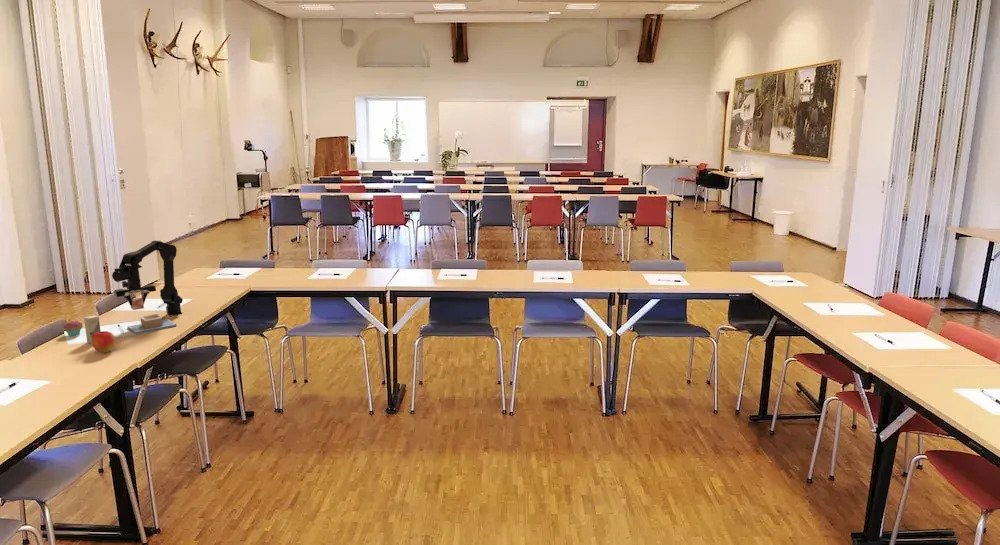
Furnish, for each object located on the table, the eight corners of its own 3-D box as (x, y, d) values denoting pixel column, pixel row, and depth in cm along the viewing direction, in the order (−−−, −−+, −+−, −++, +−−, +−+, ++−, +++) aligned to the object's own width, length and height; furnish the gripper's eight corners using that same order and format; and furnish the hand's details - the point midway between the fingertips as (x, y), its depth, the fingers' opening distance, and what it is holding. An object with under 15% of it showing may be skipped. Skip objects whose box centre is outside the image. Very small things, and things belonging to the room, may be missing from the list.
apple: (105, 355, 307) (102, 335, 304) (88, 354, 308) (85, 334, 306) (121, 349, 316) (118, 329, 314) (104, 347, 318) (101, 327, 315)
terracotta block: (141, 306, 353) (140, 297, 352) (143, 308, 349) (142, 299, 348) (131, 308, 349) (129, 299, 348) (133, 310, 346) (132, 300, 345)
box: (91, 344, 323) (87, 318, 320) (86, 342, 325) (83, 317, 323) (102, 341, 327) (99, 316, 325) (97, 339, 330) (94, 314, 327)
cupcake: (74, 338, 332) (70, 315, 330) (60, 337, 334) (56, 314, 331) (87, 332, 341) (84, 310, 338) (73, 331, 342) (70, 309, 340)
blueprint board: (168, 320, 361) (166, 310, 360) (176, 326, 351) (175, 315, 350) (127, 328, 348) (126, 317, 346) (135, 334, 338) (133, 323, 336)
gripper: (148, 272, 357) (152, 300, 361) (109, 277, 345) (113, 306, 349) (154, 275, 349) (158, 304, 353) (114, 281, 337) (118, 310, 341)
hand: (137, 306), depth 349 cm, fingers closed on terracotta block, 5 cm apart
